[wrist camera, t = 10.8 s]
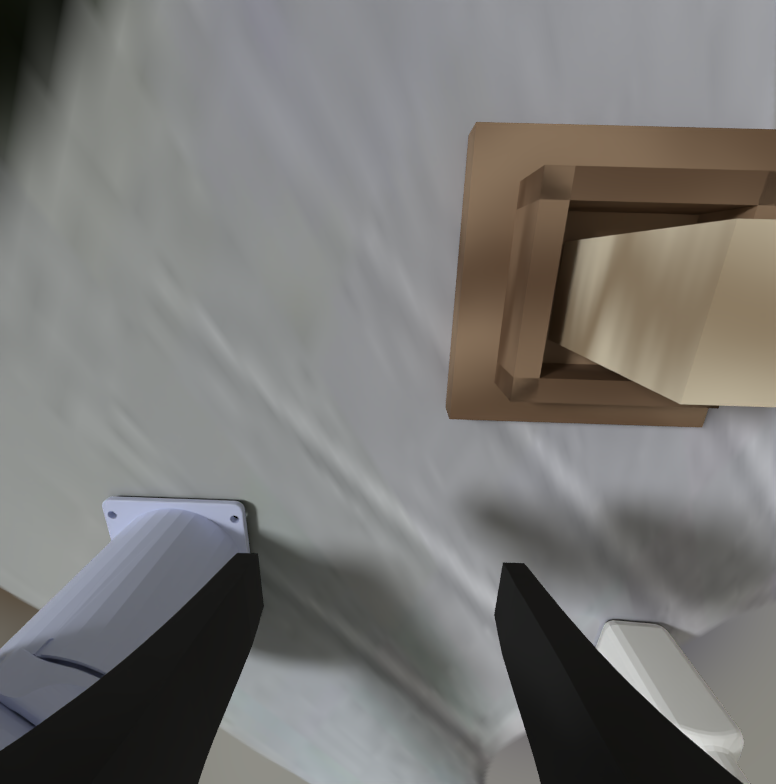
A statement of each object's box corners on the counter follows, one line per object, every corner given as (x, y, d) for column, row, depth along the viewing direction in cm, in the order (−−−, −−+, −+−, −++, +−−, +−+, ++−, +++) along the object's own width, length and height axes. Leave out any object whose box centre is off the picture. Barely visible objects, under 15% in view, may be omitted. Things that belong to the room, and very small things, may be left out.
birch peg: (638, 341, 16) (851, 409, 9) (547, 339, 16) (680, 404, 9) (663, 244, 15) (940, 223, 7) (564, 241, 15) (737, 218, 7)
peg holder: (679, 415, 19) (749, 452, 15) (445, 407, 19) (457, 442, 15) (764, 142, 15) (888, 101, 11) (468, 135, 15) (493, 92, 11)
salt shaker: (644, 663, 25) (785, 889, 16) (586, 658, 25) (694, 882, 16) (664, 620, 24) (829, 839, 15) (602, 614, 24) (730, 831, 15)
